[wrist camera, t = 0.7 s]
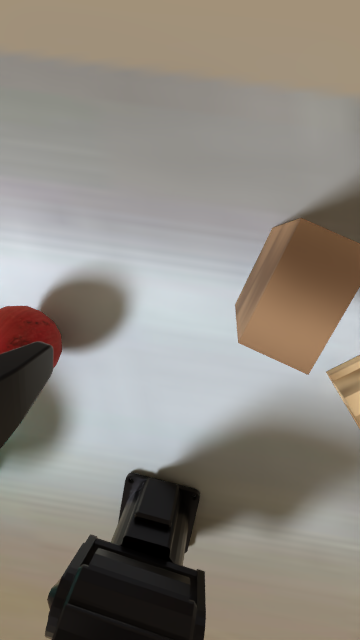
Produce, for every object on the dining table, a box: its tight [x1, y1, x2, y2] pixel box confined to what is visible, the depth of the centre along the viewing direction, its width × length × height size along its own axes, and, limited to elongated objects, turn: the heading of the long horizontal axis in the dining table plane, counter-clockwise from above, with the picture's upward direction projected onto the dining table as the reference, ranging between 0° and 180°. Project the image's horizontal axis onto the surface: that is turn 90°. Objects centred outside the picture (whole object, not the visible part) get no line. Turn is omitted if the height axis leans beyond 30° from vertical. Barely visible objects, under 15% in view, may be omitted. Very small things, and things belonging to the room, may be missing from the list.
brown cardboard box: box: [235, 218, 360, 374], centre depth 20 cm, size 6×4×10 cm, turn 157°
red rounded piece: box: [0, 306, 62, 368], centre depth 24 cm, size 6×6×8 cm
